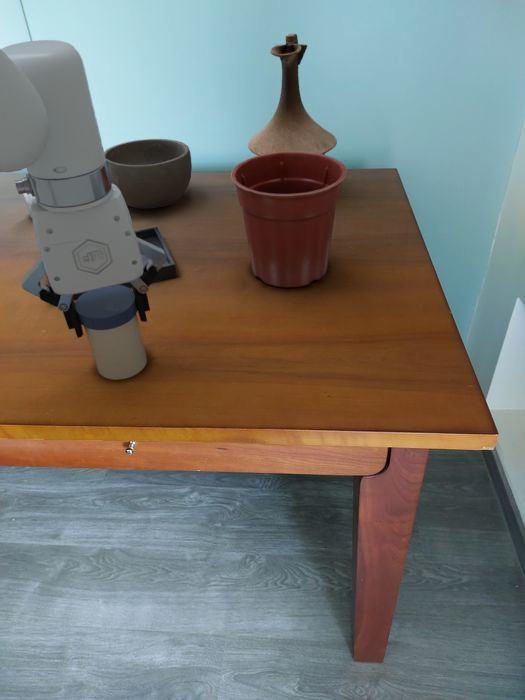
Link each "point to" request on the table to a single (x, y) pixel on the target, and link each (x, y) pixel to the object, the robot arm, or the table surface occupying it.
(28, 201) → the garlic bulb
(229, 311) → the table surface
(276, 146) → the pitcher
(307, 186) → the flower pot
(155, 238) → the tray
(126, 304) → the jar lid
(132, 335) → the jar
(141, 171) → the bowl
